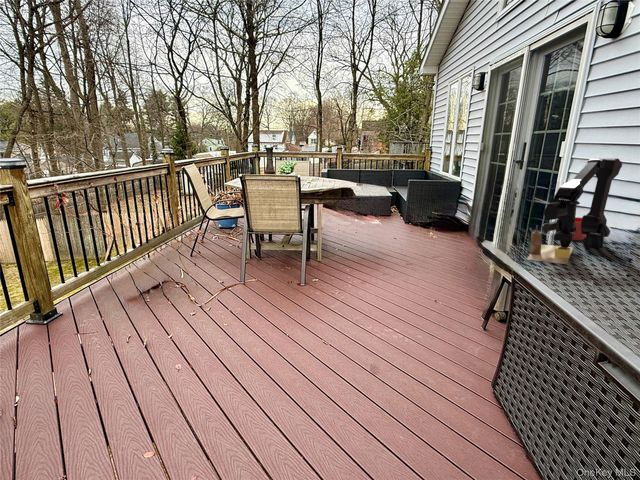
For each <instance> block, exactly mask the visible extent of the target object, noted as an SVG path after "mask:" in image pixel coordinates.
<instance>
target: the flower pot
mask: <svg viewBox="0 0 640 480" xmlns="http://www.w3.org/2000/svg"><path fill="white" fill-rule="evenodd" d="M575 218H576V220H575V226H576V227H577V228H576V232H571V233H572V234H573V235H574V238H573V240H572V241H584V237H586V234H582V232H581V222H582V217H576V216H575Z"/></svg>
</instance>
